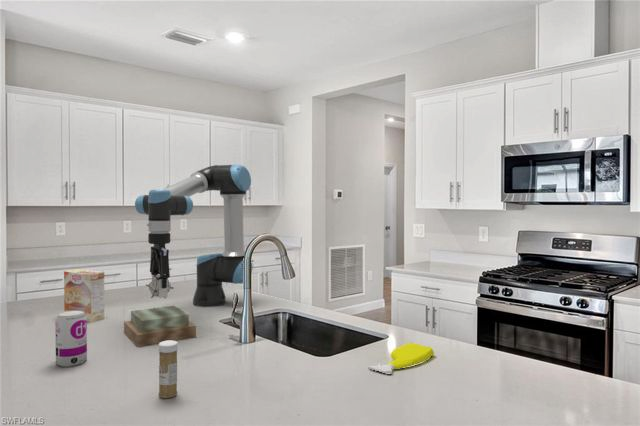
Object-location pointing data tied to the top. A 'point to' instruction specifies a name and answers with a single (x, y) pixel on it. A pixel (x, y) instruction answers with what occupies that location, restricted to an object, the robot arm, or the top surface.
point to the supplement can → (71, 338)
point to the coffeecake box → (85, 293)
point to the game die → (157, 287)
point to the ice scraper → (405, 357)
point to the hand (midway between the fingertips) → (159, 294)
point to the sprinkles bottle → (168, 369)
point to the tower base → (158, 334)
